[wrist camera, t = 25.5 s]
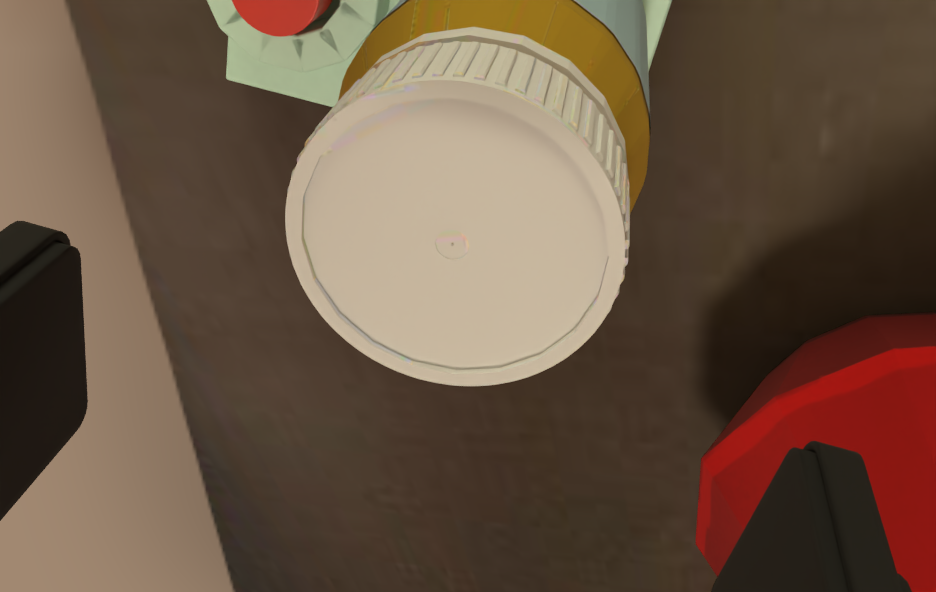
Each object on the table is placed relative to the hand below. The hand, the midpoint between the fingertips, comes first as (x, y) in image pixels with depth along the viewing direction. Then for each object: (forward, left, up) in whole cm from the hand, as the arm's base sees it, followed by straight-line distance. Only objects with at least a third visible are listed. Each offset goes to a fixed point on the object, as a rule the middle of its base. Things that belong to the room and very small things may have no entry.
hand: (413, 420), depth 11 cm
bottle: (0, 0, -20) cm, 20 cm away
